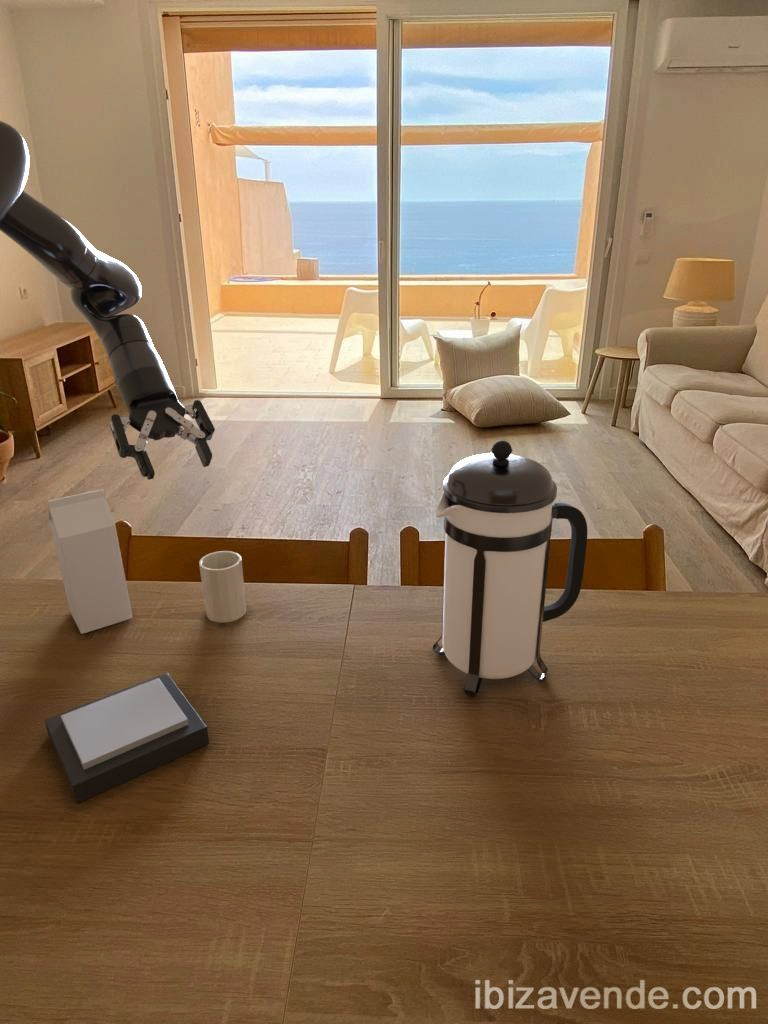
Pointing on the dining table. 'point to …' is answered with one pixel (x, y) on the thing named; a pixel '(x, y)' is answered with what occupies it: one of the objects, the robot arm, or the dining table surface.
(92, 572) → the milk carton
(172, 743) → the scale
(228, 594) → the cup
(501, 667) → the coffee press
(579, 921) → the dining table surface
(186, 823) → the dining table surface
